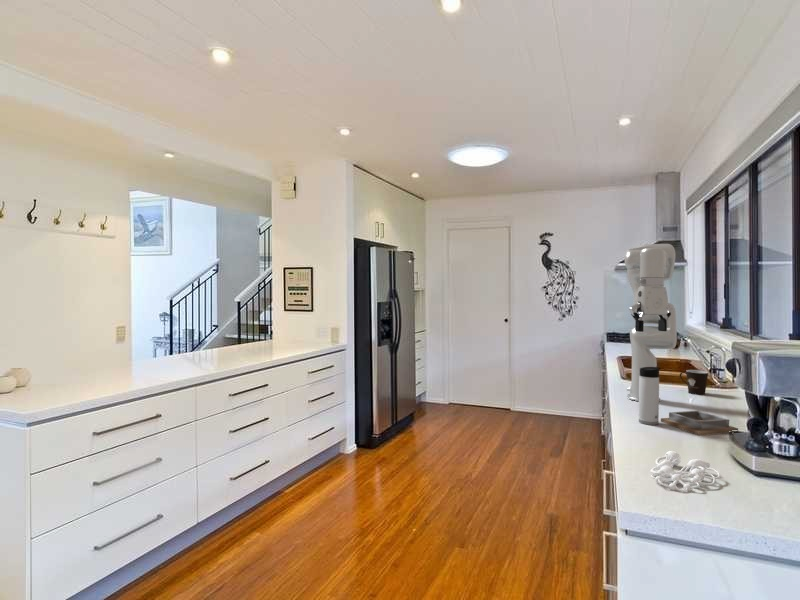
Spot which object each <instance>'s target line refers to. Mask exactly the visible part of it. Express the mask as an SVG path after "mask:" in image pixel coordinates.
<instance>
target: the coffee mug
mask: <svg viewBox="0 0 800 600" xmlns="http://www.w3.org/2000/svg"><path fill="white" fill-rule="evenodd" d="M683 374H685V375H686V381H685V380H684V379H683V377H682V375H683ZM708 376H709V372H708V371H706V370H700V369H686V370H685V371H682V372H680V374H679V378H680V379H681V381H682V382H683V383H684V384H685V385H686V386H687V391H688V394H690V393H691V394H692V395H697V396H703V395H704V396H705V395H706V391H707V390H706V389H707V383H708V378H709V377H708Z"/></svg>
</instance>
